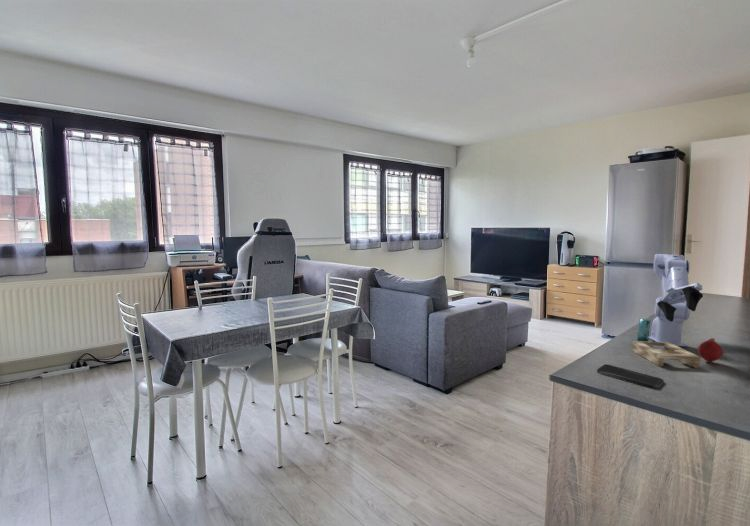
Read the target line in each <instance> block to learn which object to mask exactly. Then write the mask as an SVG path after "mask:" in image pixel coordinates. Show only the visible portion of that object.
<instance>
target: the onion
mask: <svg viewBox="0 0 750 526" xmlns="http://www.w3.org/2000/svg"><path fill="white" fill-rule="evenodd" d="M697 350H698V354H699V357H700V358H702V359H703V360H705V361H706V362H707V363H713V362H715V361H718V360H720V359H721V357H723V352H724V351H723V349H722V346H721V345H720V344H719V343H717V341H716V339H715V338H714V337H711V338H709V339H708V340H705V341H704V342H702V343H700V345H699V346H698V349H697Z"/></svg>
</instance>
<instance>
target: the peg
mask: <svg viewBox="0 0 750 526" xmlns="http://www.w3.org/2000/svg"><path fill="white" fill-rule="evenodd" d="M650 326H651V320H650V319H647V318H639V321H638V329H637V331H638V332H637V339H633V340H632V343H633V341H645V342H649V339H650V338H649V337H650V329H651V327H650ZM632 343H631V344H632ZM648 346H650V347H652V348H653V346H654V345H648Z"/></svg>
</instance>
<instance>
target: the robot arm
mask: <svg viewBox="0 0 750 526" xmlns="http://www.w3.org/2000/svg"><path fill="white" fill-rule="evenodd" d="M690 267H691V266H690V261H689V260H686V257H685V256H684V255H683V254H666V253H664V254H663V253H655V254H654V258H653V272H654V274H655V275H656V276H657V277H659V280H660V283H661V289H662V296H658V297H657V298H656V299H655V303H654V316H655V318H654V319H653V320H652V323H651V328H650V329H651V331H650V336H649V339H650V340H652V341H653V342H669V343H671V344H674V345H676V346H678V347H688V346H687V344H685V343H683V342H682V336H683V325H684V323H685V321H687V320H689V319H690V314H691V312H695V311H696V310H697V307H698V304H699V302H700V301H701V299H702V298H703V297H704V294H703V293H702V292H701V291H703V285H702V284H700V283H699V282H695V283H692V284H689V275H690V274H689V273H690V269H691V268H690Z"/></svg>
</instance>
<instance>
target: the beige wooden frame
mask: <svg viewBox="0 0 750 526" xmlns="http://www.w3.org/2000/svg"><path fill="white" fill-rule="evenodd" d="M632 341H633V340H632ZM648 345H653V346H659V347H660V346H661V347H662V346H663V350H662V349H661V348H660V349H659V348H658V349H657V348H652V347H650V346H648ZM633 351H634V352H633ZM631 352H633V353H635V354H636V353H637V355H638V354H639V355H638V356H640V355H641V356H640V357H642V358H643V357H644V358H643V359H645V358H646V359H645V360H647V359H648V360H649V361H648V360H647V361H648V362H650V361H651V362H650V363H652V362H653V363H652V364H654V365H655V364H656V365H655V366H657V365H658V366H657V367H664V363H665V360H667V359H669V360H678V361H680V362H682V363H683V364H686V365H688V366H689V367H691V366H692V368H693V367H694V369H700V364H701V356H700V355H698V354H695V353H692V352H691V351H688V350H686V349H684V348H682V347H681V346H676V345H674V344H671V343H669V342H656V341H648V342H645V341H633V343H631Z"/></svg>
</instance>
